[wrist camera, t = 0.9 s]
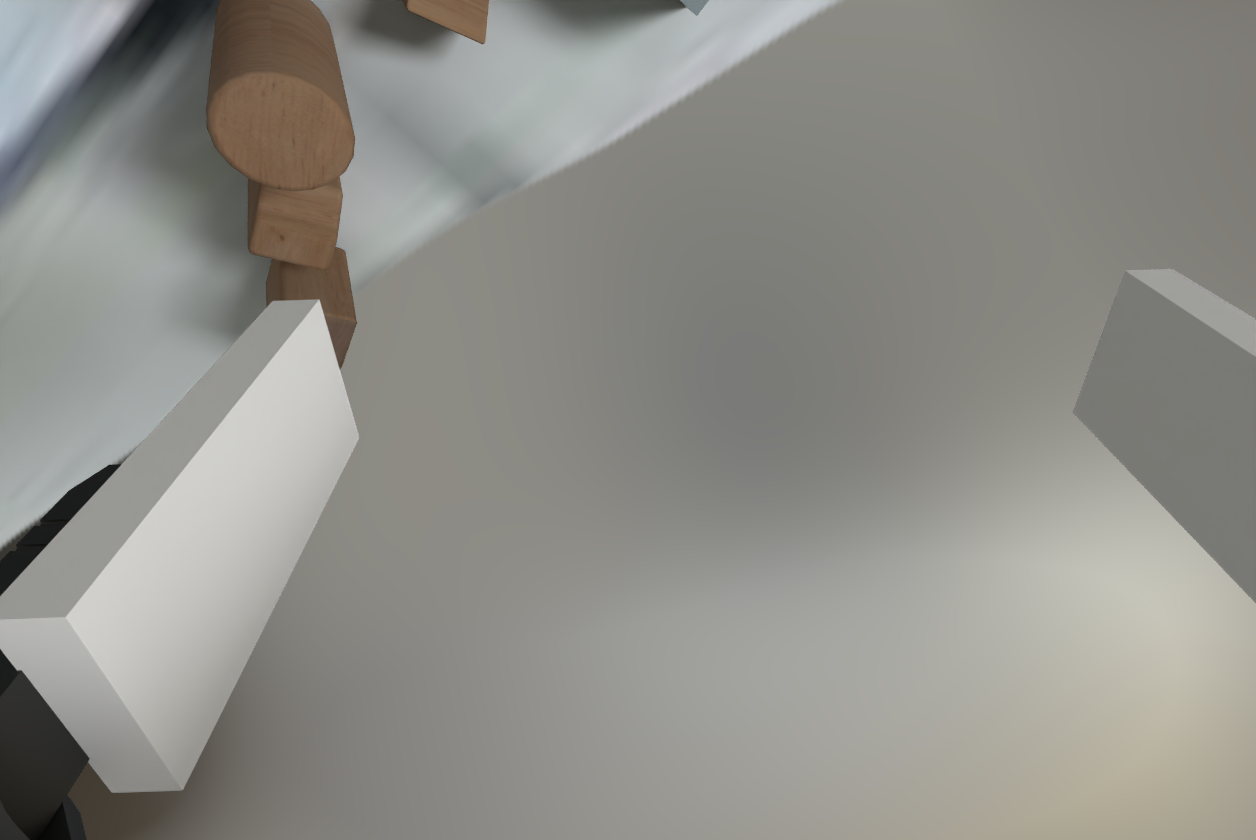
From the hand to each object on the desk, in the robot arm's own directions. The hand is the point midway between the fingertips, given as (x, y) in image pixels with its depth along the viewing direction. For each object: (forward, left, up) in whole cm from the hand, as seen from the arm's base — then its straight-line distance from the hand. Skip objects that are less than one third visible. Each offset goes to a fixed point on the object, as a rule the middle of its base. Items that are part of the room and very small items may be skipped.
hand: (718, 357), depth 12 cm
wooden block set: (-11, -9, -24) cm, 28 cm away
